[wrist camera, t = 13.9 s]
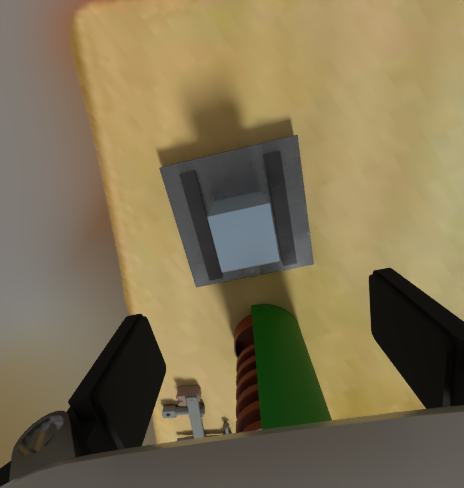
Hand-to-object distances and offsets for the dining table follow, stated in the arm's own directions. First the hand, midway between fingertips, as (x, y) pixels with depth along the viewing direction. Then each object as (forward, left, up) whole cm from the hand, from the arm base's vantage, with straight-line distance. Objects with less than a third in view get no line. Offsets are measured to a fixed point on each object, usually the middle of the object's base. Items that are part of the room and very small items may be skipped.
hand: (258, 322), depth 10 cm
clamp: (+14, +31, -20) cm, 39 cm away
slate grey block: (0, 0, -18) cm, 18 cm away
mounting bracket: (0, 0, -19) cm, 19 cm away
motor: (0, +17, -19) cm, 26 cm away
